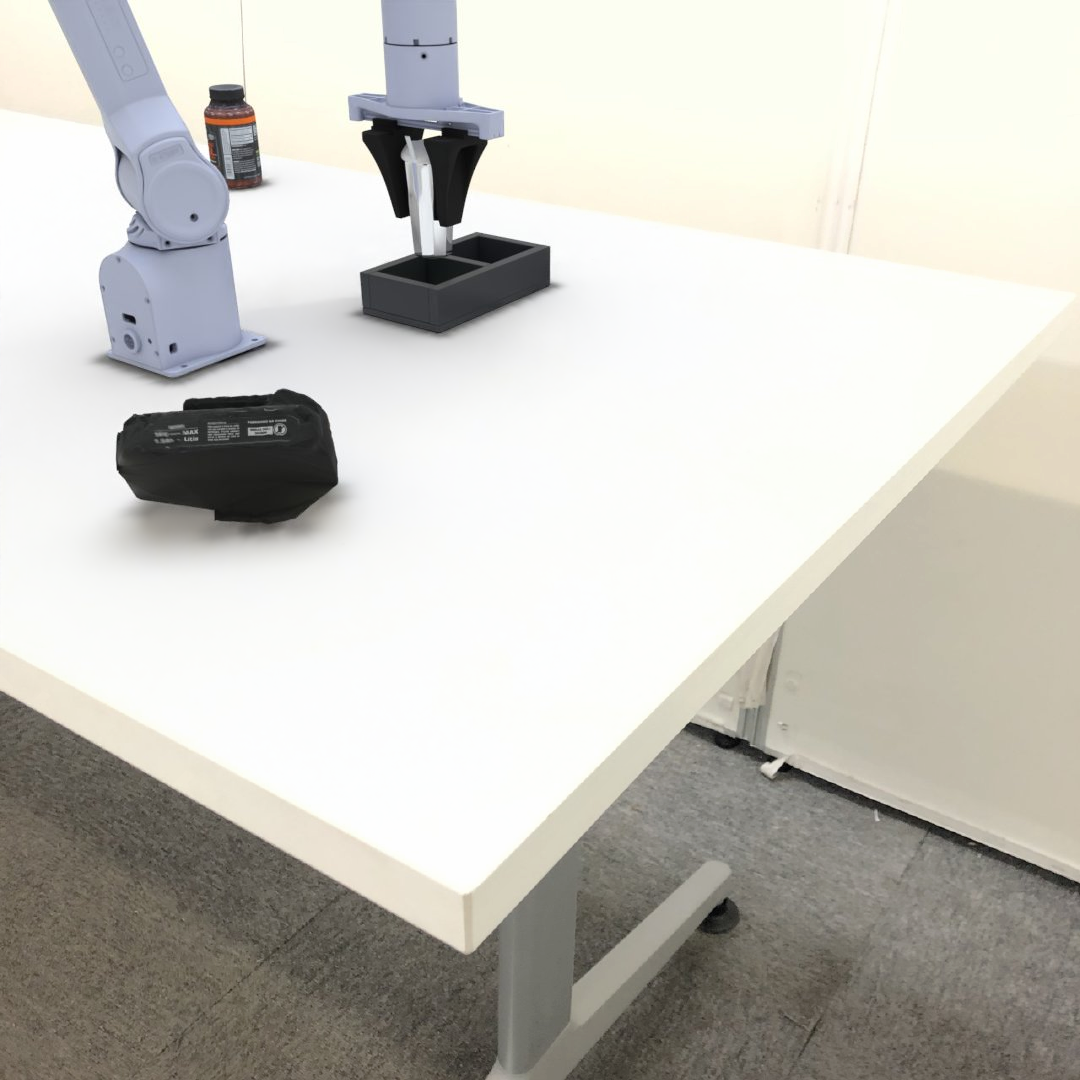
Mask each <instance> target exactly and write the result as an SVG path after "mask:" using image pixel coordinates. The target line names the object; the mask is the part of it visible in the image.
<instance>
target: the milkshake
mask: <svg viewBox="0 0 1080 1080" xmlns="http://www.w3.org/2000/svg"><path fill="white" fill-rule="evenodd" d="M405 139H406V142H407V144H406V145H405V147H404V148H403V150H402V152H401V159H402V166H403V173H404V180H405V186H406V191H407V196H408V204H409V212H410V216H409V220H410V228H411V237H412V245H413V246H412V247H413V254H414V253H415V255H416V256H419V257H422V258H442V257H446V256H448V255H451V254H452V242H453V240H454V238H453V237H454V225H453V226H450V227H441V226H440V224H439V220H438V215H437V204H436V189H435V182H434V176H433V172H432V168H431V164H430V160H429V157H428V154H427V152H426V149H425V146H424V141H423V140H424V139H425V138H422V139H421V140H418V141H411V139H410V136H405Z"/></svg>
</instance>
